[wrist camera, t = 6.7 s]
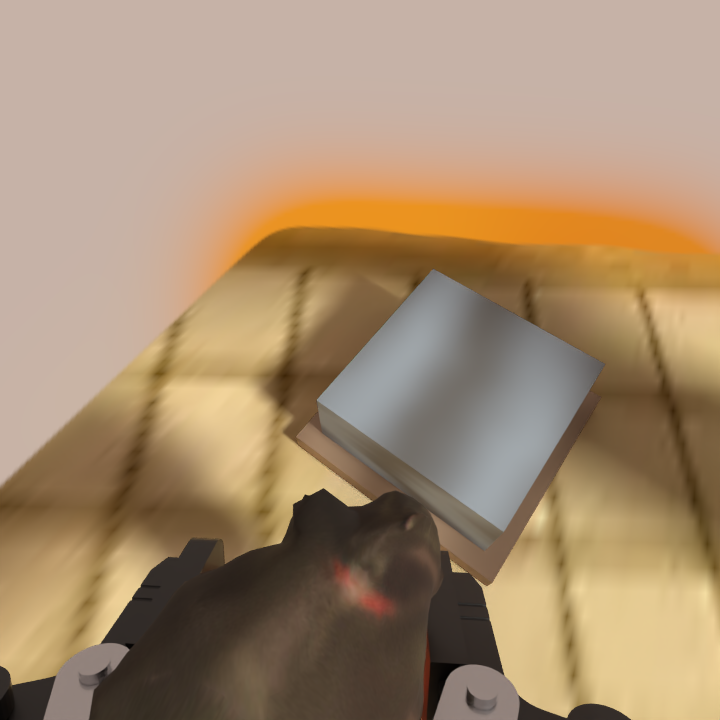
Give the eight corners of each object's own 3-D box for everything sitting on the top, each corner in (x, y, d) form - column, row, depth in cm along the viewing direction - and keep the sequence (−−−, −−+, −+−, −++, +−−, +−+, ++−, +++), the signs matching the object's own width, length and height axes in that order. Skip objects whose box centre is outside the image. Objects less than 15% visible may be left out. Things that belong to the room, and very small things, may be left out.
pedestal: (593, 406, 30) (632, 360, 26) (487, 586, 25) (513, 568, 21) (419, 304, 34) (428, 249, 29) (298, 444, 29) (286, 403, 25)
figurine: (267, 550, 19) (133, 405, 9) (420, 575, 19) (470, 451, 8) (214, 764, 16) (-87, 929, 6) (398, 804, 15) (432, 1068, 5)
